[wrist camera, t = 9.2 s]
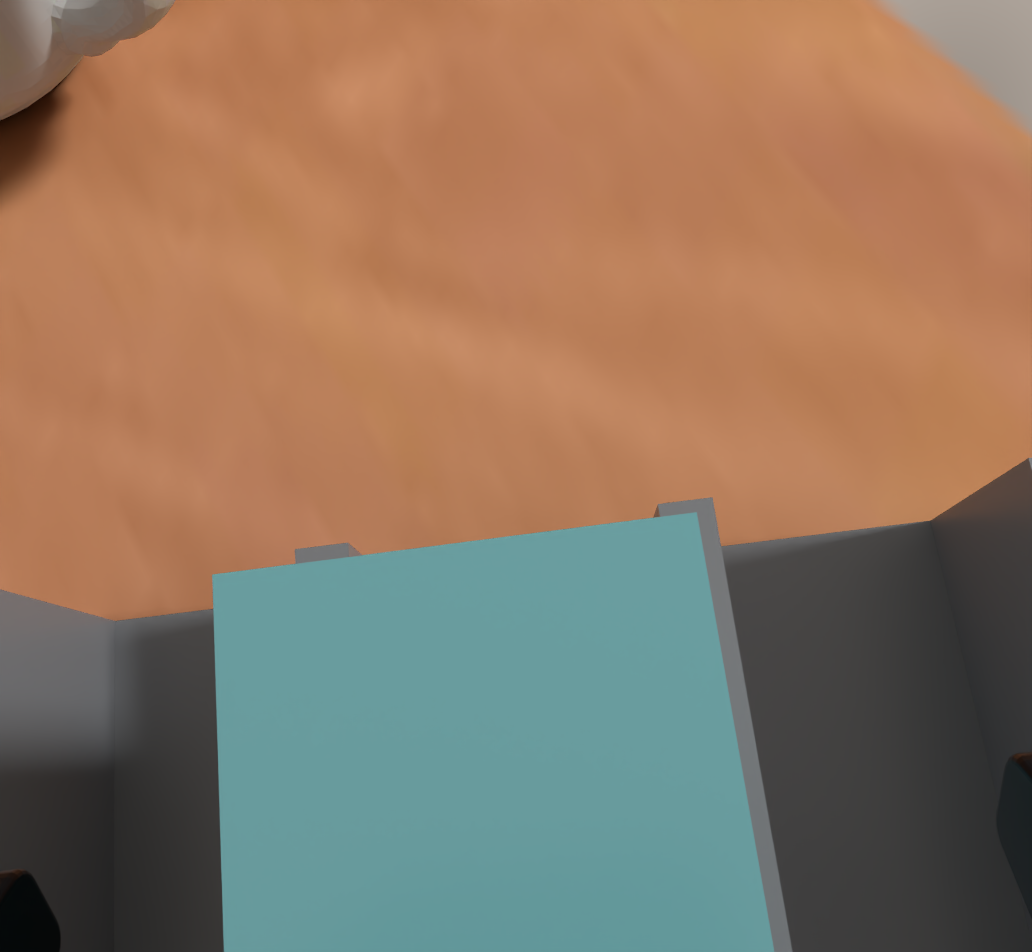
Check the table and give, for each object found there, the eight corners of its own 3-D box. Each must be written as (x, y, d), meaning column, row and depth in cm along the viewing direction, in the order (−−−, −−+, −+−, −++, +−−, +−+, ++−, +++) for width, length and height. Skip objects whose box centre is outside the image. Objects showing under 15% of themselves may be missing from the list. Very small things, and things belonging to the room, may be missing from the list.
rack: (1103, 1115, 16) (1322, 1267, 11) (88, 1223, 16) (-106, 1412, 12) (957, 525, 18) (1084, 451, 14) (94, 630, 19) (-61, 593, 14)
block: (668, 1038, 16) (932, 1841, 4) (487, 1059, 16) (252, 1903, 4) (614, 668, 17) (696, 513, 6) (450, 689, 17) (213, 574, 6)
